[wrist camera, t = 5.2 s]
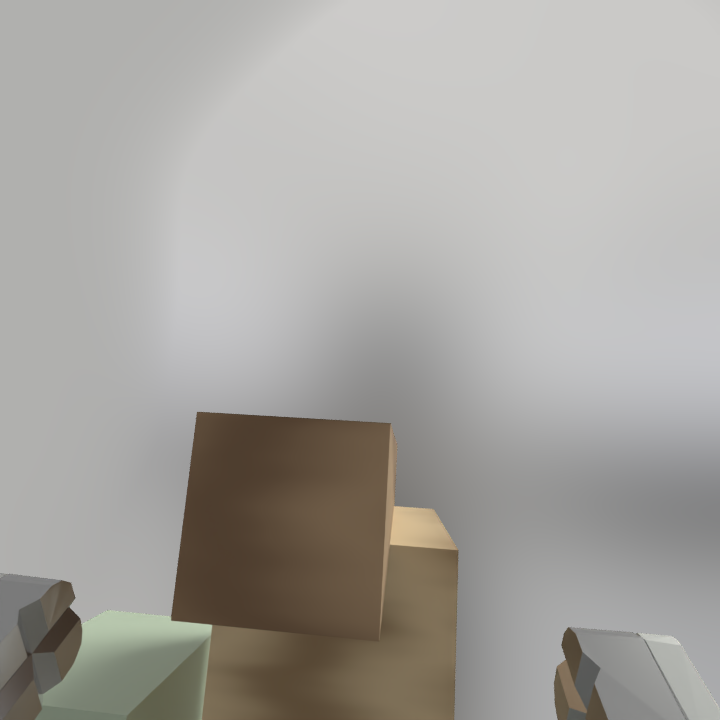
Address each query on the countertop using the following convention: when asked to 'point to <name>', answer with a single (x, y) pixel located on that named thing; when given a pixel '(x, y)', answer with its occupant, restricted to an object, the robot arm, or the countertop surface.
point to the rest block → (134, 671)
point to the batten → (287, 525)
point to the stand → (354, 648)
